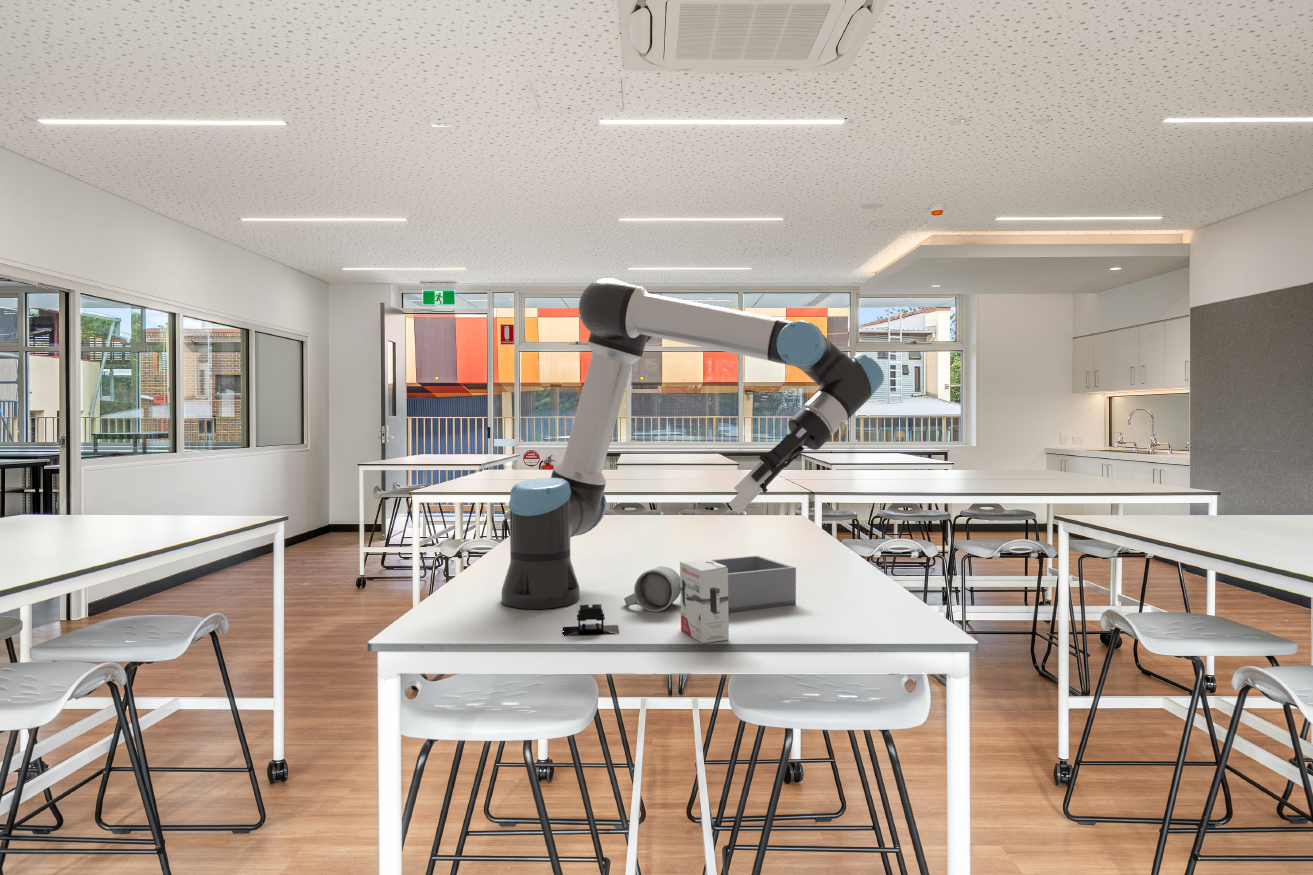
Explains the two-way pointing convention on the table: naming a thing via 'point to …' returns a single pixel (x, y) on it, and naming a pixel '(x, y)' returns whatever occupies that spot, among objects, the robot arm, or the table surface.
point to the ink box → (704, 600)
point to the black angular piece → (590, 629)
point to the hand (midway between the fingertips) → (736, 501)
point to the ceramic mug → (656, 589)
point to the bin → (758, 583)
